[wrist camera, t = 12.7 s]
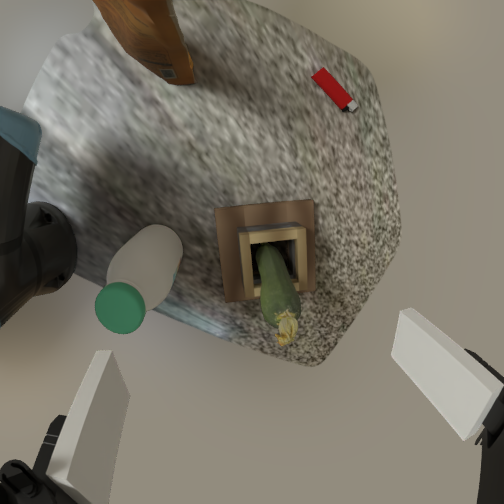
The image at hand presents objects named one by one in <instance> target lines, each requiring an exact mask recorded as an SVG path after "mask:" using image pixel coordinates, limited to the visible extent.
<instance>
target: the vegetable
mask: <svg viewBox="0 0 504 504" xmlns="http://www.w3.org/2000/svg"><path fill="white" fill-rule="evenodd" d="M256 251H257V252H256V261H257V265H258V269H259V273H260V275H261V281H262V286H261V291H260V302H261V309H262V313H263V316H264V319H265V320H266V321H267V322H268V323H269V324H270V325H271V326H273V327H275V328H277V329H279V332H280V335H281V337H280V335H277V334H275V337H277V339H278V342H276V343H279V344H280V345H281V346H284V345H286V344H289V343H291V342H293V341H294V339H293V338H294V337H295V336H296V333H297V330H298V324H297V320H298V319H299V317H300V314H301V303H300V298H299V295H298V293H297V291H296V289H295V286H294V284H293V283H292V281H291V278H290V276H289V273H288V271H287V268H286V265H285V262H284V259H283V257H282V255H281V254H280V252H279V251H278V249H277V248H276V247H274V246H272V245H270V244H269V243H267V242H263V243H261V244H260V245H259V247H258V248H257V250H256Z"/></svg>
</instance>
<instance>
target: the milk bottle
mask: <svg viewBox="0 0 504 504" xmlns="http://www.w3.org/2000/svg"><path fill="white" fill-rule="evenodd" d="M182 256H183V247H182V243H181V240H180V238H179V237H178V235H177V234H176V233H175V232H174V231H173V230H172V229H170V228H168V227H166V226H163V225H150V226H147V227H145V228H143V229H142V230H140V231H139V232H138V233H137V234H136V235H134V236H133V237H132V238H131V239H130V240H129V241H128V242H127V243H126V244H125V245H123V246H122V247H121V248H120V250H119V251H118V252H117V253H116V254H115V255H114V257H113V259H112V260H111V262H110V264H109V267H108V271H107V284H106V285H105V287H104V288H103V289H102V290H101V291H100V293H99V294H98V296H97V298H96V301H95V311H96V315H97V317H98V319H99V321H100V322H101V323H102V324H103V325H104V326H105V327H106V328H107V329H108V330H110V331H112V332H115V333H118V334H128V333H131V332H133V331H135V330H136V329H137V328H138V327H139V326H140V325H141V323H142V321H143V319H144V316H145V314H146V312H147V311H149V310H152V309H153V308H155V307H157V306H158V305H159V304H161V303H162V302H163V301H164V299H165V298H166V297H167V295H168V294H169V292H170V290H171V287H172V285H173V283H174V280H175V277H176V275H177V272H178V269H179V266H180V263H181V260H182Z"/></svg>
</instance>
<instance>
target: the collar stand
mask: <svg viewBox="0 0 504 504" xmlns="http://www.w3.org/2000/svg"><path fill="white" fill-rule="evenodd" d="M214 211H215V220H216V229H217V238H218V246H219V255H220V263H221V271H222V279H223V287H224V295H225V302H226V303H227V302H236V301H244V300H252V299H260V291H261V286H262V281H261V275H260V273H259V270H256V271H252V260H251V248H250V244H254V243H263V242H272V241H281V240H286V245H287V265H288V267H286V268H287V271H288V273H289V276H290V278H291V281H292V283H293V284H294V286H295V289H296V291H297V293H303V292H310V291H316V277H315V226H314V202H313V200H311V199H307V200H294V201H282V202H271V203H260V204H249V205H240V206H230V207H221V208H214Z"/></svg>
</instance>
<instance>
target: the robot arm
mask: <svg viewBox="0 0 504 504" xmlns="http://www.w3.org/2000/svg"><path fill="white" fill-rule="evenodd" d="M41 137H42V130H41V127H40V125H39V123H38V122H37V121H35V120H34V119H32V118H30V117H28V116H25V115H23V114H21V113H18V112H16V111H13V110H10V109H8V108H4V107H2V106H0V327H1V326H2V325H3V324H5V323H6V321H8V320H9V319H10V318H11V317H12V316H13V315H14V314H15V313H16V312H17V311H18V310H19V309H20V308H21V307H22V306H24V305H25V304H26V303H27V302H28V301H29V300H30V299H31V298H32V297H34V296H40V295H45V294H50V293H53V292H55V291H57V290H58V289H60V288H61V287H62V286H63V285H64V284H65V283H66V282H67V281H68V280H69V279H70V278H71V276H72V274H73V272H74V269H75V266H76V261H77V246H76V240H75V236H74V233H73V230H72V228H71V226H70V224H69V222H68V221H67V219H66V218H65V216H64V215H63V214H62V213H61V212H60V211H59V210H58V209H57V208H56V207H54V206H53V205H51V204H48V203H46V202H40V201H37V202H31V203H28V198H29V193H30V187H31V183H32V178H33V173H34V169H35V166H37V155H38V150H39V146H40V142H41ZM391 357H392V358H393V359H394V360H395V361H396V362H397V364H398V365H399V366H400V367H401V368H402V369H403V370H404V372H405V373H406V374H407V375H408V376H409V377H410V378H411V380H412V381H413V382H414V383H415V384H416V385H417V386H418V388H419V389H420V390H421V391H422V392H423V393H424V394H425V396H426V397H427V398H428V399H429V400H430V402H431V403H432V404H433V405H434V406H435V408H436V409H437V410H438V411H439V412H440V413H441V415H442V416H443V417H444V418H445V419H446V421H447V422H448V423H449V424H450V425H451V427H452V428H453V429H454V430H455V431H456V433H457V434H458V435H459V436H460V438H461V439H462V440H463V441H465V440H466V439H468V438H469V437H471V436H472V435H474V434H475V433H476V432H477V430H478V429H479V427H480V426H481V424H483V425H484V426H485V428H484V429H483V431H482V433H481V434H480V435H479V437H478V438H477V440H476V442H475V445H477V444H478V443H479V441H480V439H481V438H482V442H481V444H480V445H482V460H481V473H480V483H479V491H478V498H477V504H504V377H503V376H501V375H500V374H499V373H498V372H497V371H496V370H494V369H493V368H492V367H491V366H489V365H488V364H487V363H486V362H485V361H483V360H482V358H481V357H479V356H478V355H477V354H476V353H474V352H472V351H470V350H467V349H463V348H461V347H460V346H459V345H458V344H457V343H455V342H454V341H453V340H452V339H450V338H449V337H448V336H447V335H446V334H444V333H443V332H442V331H441V330H439V329H438V328H437V327H436V326H434V325H433V324H432V323H431V322H430V321H428V320H427V319H425V317H423V316H422V315H421V314H419V313H418V312H417V311H416V310H414V309H413V308H408V309H404V310H401V311H400V314H399V319H398V325H397V330H396V335H395V340H394V345H393V349H392V353H391ZM129 399H130V394H129V392H128V389H127V387H126V385H125V382H124V380H123V378H122V375H121V372H120V370H119V368H118V365H117V362H116V359H115V357H114V354H113V351H112V350H101V351H100V350H99V351H98V350H97V351H96V353H95V355H94V357H93V360H92V362H91V364H90V366H89V368H88V370H87V372H86V374H85V376H84V379H83V381H82V383H81V385H80V388H79V390H78V392H77V394H76V396H75V399H74V401H73V403H72V406H71V408H70V410H69V413H68V415H67V416H64V415H58V416H57V417H56V418H55V419H54V421H53V422H52V423H51V424H50V426H49V429H48V431H47V433H46V434H47V436H45V438H44V441H43V444H42V446H41V448H40V451H39V453H38V456H37V458H36V461H35V464H34V467H33V469H32V470H31V469H30V468H29V467H28V466H27V465H26V464H25V463H24V462H22V461H21V460H16V459H15V460H10V461H8V462H6V463H5V464H4V465H3V466H2V468H1V469H0V481H1V483H0V504H109V498H110V491H111V485H112V479H113V473H114V468H115V463H116V457H117V452H118V447H119V442H120V438H121V433H122V428H123V424H124V420H125V415H126V411H127V407H128V403H129Z"/></svg>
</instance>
